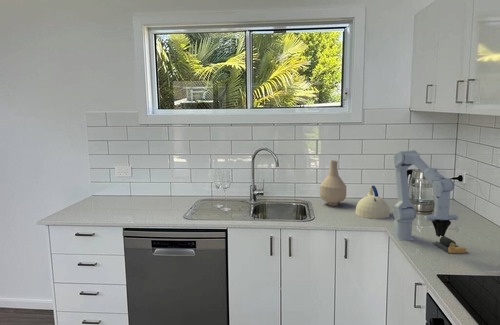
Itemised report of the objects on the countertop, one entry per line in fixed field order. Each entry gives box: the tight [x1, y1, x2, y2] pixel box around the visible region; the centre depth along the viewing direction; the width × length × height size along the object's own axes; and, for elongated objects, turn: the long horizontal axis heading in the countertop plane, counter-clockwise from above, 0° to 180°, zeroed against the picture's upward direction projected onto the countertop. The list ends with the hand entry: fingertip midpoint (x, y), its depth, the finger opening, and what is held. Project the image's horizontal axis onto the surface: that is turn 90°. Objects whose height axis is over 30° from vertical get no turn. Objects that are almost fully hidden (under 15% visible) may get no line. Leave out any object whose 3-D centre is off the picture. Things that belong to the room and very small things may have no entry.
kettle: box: [355, 185, 390, 220], centre depth 232 cm, size 20×21×18 cm
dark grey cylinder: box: [439, 235, 457, 247], centre depth 176 cm, size 7×4×4 cm, turn 5°
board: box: [431, 240, 470, 255], centre depth 171 cm, size 24×10×2 cm, turn 5°
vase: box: [319, 160, 347, 207], centre depth 256 cm, size 18×18×30 cm
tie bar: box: [448, 246, 467, 254], centre depth 170 cm, size 2×7×3 cm, turn 95°
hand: (440, 235), depth 168 cm, fingers closed
